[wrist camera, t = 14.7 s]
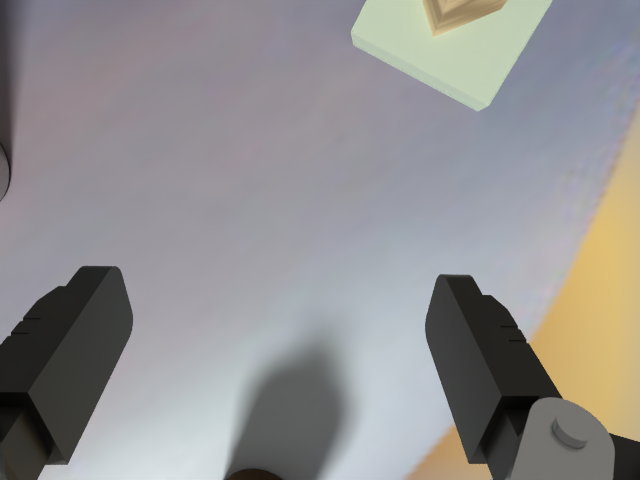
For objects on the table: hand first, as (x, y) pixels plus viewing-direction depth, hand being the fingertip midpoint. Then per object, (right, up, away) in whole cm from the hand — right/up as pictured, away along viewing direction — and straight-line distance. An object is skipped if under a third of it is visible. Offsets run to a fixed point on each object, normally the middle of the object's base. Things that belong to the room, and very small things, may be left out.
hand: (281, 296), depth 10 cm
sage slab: (+12, +20, +23) cm, 33 cm away
